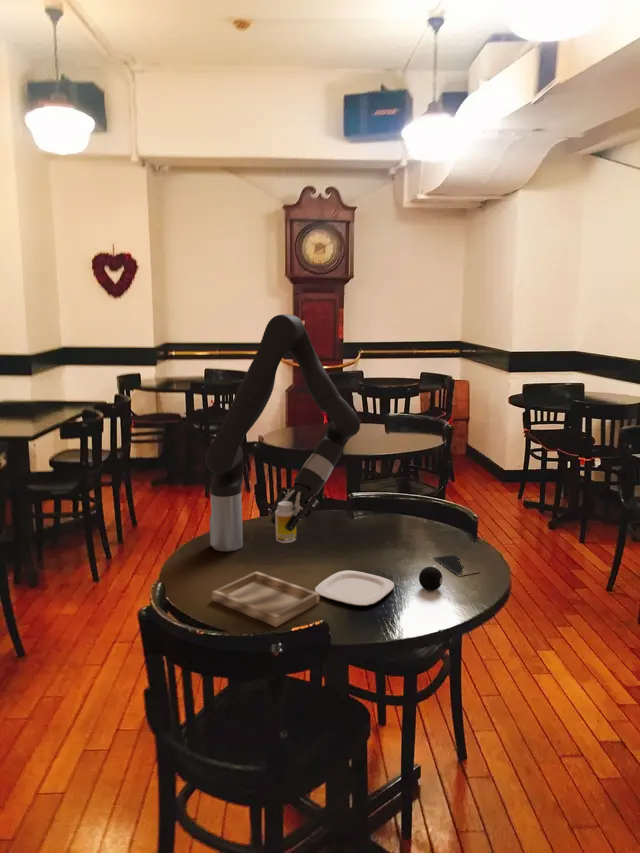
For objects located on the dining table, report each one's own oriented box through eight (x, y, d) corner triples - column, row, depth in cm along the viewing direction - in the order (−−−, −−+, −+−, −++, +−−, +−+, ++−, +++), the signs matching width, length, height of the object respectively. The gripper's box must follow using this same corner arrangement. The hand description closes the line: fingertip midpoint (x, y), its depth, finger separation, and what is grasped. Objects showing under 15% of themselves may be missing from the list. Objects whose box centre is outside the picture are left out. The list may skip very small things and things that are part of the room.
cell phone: (458, 578, 184) (458, 575, 184) (432, 559, 197) (432, 557, 197) (481, 574, 187) (481, 571, 187) (453, 556, 200) (454, 553, 200)
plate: (368, 614, 164) (368, 608, 164) (306, 597, 174) (306, 591, 174) (401, 587, 179) (401, 581, 179) (342, 572, 189) (342, 566, 188)
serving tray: (212, 600, 171) (212, 591, 171) (256, 579, 184) (256, 571, 183) (276, 627, 158) (276, 617, 157) (319, 602, 170) (319, 593, 169)
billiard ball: (437, 596, 173) (438, 574, 172) (415, 591, 176) (415, 569, 175) (445, 587, 178) (445, 565, 177) (423, 582, 181) (424, 561, 180)
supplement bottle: (300, 541, 179) (299, 504, 177) (280, 545, 177) (279, 507, 174) (291, 534, 184) (290, 498, 182) (272, 538, 181) (271, 501, 179)
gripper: (289, 461, 186) (255, 512, 181) (324, 472, 176) (289, 526, 171) (304, 476, 191) (271, 526, 186) (339, 487, 180) (305, 541, 175)
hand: (280, 526), depth 178 cm, fingers closed on supplement bottle, 5 cm apart
